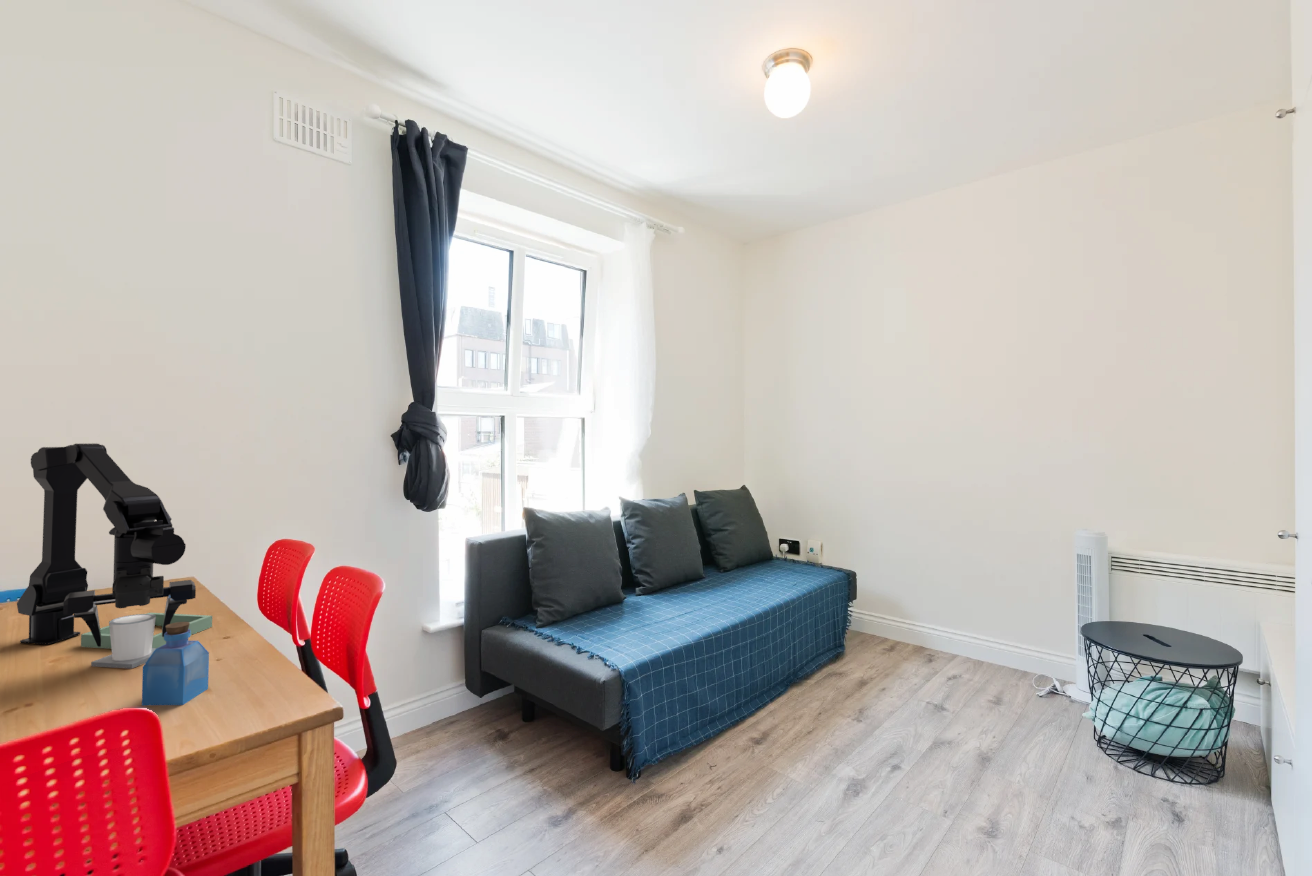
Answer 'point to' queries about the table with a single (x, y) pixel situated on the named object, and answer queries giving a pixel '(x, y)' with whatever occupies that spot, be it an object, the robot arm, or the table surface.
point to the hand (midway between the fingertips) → (132, 641)
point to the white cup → (132, 636)
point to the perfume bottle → (175, 669)
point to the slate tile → (121, 662)
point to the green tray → (195, 626)
